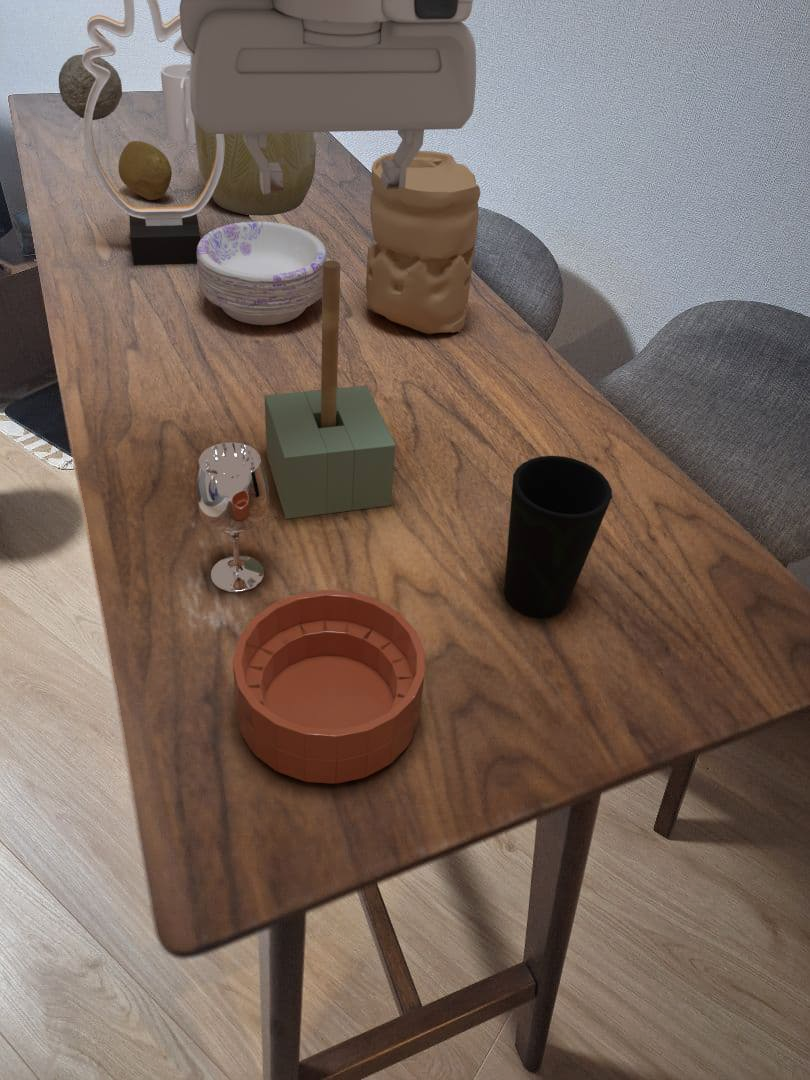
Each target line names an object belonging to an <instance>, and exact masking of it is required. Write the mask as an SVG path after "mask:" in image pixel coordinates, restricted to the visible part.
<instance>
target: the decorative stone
mask: <svg viewBox="0 0 810 1080" xmlns="http://www.w3.org/2000/svg"><path fill="white" fill-rule="evenodd" d="M82 57H83V54H74V55H72V56H70V57H69V58H67V60H66V61H65V62H64V63H63V65H62V67H61V68H60V70H59V73H58V89H59V93H60V96H61V99H62V102H63V103H64V104H65V105H66V106H67V108H68V109H69V110H70V111H72V112H74V114H75V115H76V116H77V117H79V118H81V119H84V113H85V108H86V103H87V100H88V96H89V93H90V90H91V88H92V86H93V83H94V81H95V80H96V79H95V77H94V76H93V75H92V74H90V73H89V72H88V71H87V70H86V69H85V67H84V66H83V64H82ZM92 61H93V62H94V63H96V64H98V65H100V66H102V67H104V68H107V69H108V70H109V71H110V78H109V79H108V81H107V82H106V84H105V86H104V87H103V89H102V90H101V92H100V95H99V97H98V100H97V102H96V105H95V109H94V113H93V119H92V121H97V120H100V119H105V118H106V117H109V116H110V115H111V114H112V113H113V112H114V111H115V110H116V109H117V107H118V106H119V104H120V101H121V99H122V98H123V85H122V78H121V76H120V74H119V73H118V70H117V69H116V68H114V66H113V65H111V63H110V62H109V61H107V60H105V58H103V57H97V58H94V59H92Z"/></svg>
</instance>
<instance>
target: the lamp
mask: <svg viewBox="0 0 810 1080" xmlns="http://www.w3.org/2000/svg"><path fill="white" fill-rule="evenodd" d="M146 3H147V5H148V7H149V11H150V15H151V21H152V25H153V29H154V34H155V38H156V40H157V42H158V43H163V42H165V41H167V40H168V39H169V38H171V37H172V36H173V35H174V34H176V33H177V32H179V31H181V23H180V13H179V14H177V15H176V16H175V17H173V18H172V19H171V20H169V21H168V22H166V23H164V22H163V17H162V14H161V13H162V12H161V8H160V5H159V2H158V0H146ZM123 8H124V21H123V22H120V21H118V20H115V19H113V18H110V17H108V16H106V15H103V14H96V15H94V16H91V17H90V18H89V19H88V20H87V24H86V30H87V31H86V32H87V35H88V37H89V39H90V40H91V41H92V42H93V43H94V44H95V45H96V46H95V45H94V46H91V47H87V48H86V50H84V52H83V54H82V55H83V57H82V64H83V66H84V67H85V69H86V70H87V71H88V72H89V73H90V74H92V75H93V76H94V77H95V79H96V80H95V81H94V83H93V86H92V88H91V90H90V93H89V96H88V100H87V103H86V108H85V113H84V118H83V139H84V140H83V141H84V148H85V152H86V155H87V159H88V162H89V165H90V168H91V170H92V173H93V174H94V176H95V178H96V180H97V181H98V183H99V185H100V187H101V188H102V189H103V191H104V192H105V193H106V194H107V196H108V198H110V200H111V201H112V203H114V205H115V206H116V207H117V208H118V209H120V210H121V211H122V212H123V213H125V214H126V215H128V217H129V240H130V241H129V242H130V247H131V256H132V262H133V263H132V264H133V266H147V265H148V266H149V265H153V266H154V265H179V264H182V265H183V264H197V246H198V244H199V242H200V240H201V239H202V238H201V232H200V231H201V230H200V225H199V219H198V214H199V213H200V212H201V211H202V210H203V209H204V208H205V207H206V206H207V204H208V203H209V202H210V201H211V198H212V197H211V196H212V194H213V193H214V191H215V189H216V186H217V184H218V181H219V178H220V175H221V172H222V168H223V162H224V152H225V142H224V134H216V155H215V162H214V166H213V169H212V172H211V175H210V178H209V180H208V182H207V184H206V186H205V185H204V188H203V190H202V191H201V193H200V195H199V196H198V198H197V199H196V200H195V201H194V202H193V203H192V204H190V205H184V206H147V207H145V206H142V207H141V206H140V207H139V206H134V205H132V204H131V203H129V201H127V200H125V198H124V197H123V196H122V195H121V194H120V193H119V192H118V190H117V189H116V188H115V187H114V185H113V184H112V182H111V180H109V178H108V176H107V174H106V173H105V171H104V169H103V167H102V165H101V163H100V161H99V158H98V155H97V154H98V153H97V151H96V147H95V143H94V135H93V120H92V119H93V113H94V109H95V105H96V102H97V100H98V97H99V95H100V92H101V90H102V89H103V87H104V86H105V84H106V82H107V81H108V79H109V78H110V71H109V70H108V69H107V68H104V67H102V66H100V65H98V64H96V63H94V62H93V61H92V59H94V58H97V57H101V58H105V57H106V58H107V57H112V56H114V55H115V54H116V47H115V45H114V44H113V43H112V42H111V41H110V40H108V39H107V38H106V37H105V36H104V34H102V33H101V32H100V31H99V30H98V29H97V28H100V29H102V30H105V31H107V32H109V33H111V34H113V35H116V36H118V37H120V38H128V37H131V36H132V34H133V33H134V29H135V1H134V0H123ZM173 51H174V52H175V53H178V54H182V55H184V56H188V57H191V51H190V50H189V49H188V47H187V46H186V44H185V43H184V40H183V38H182V34H181V35H180V36H179V37H178V38H177V40H175V42H174V44H173ZM186 74H187V76H188V78H189V79H190V68H187V69H186Z"/></svg>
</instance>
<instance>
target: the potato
mask: <svg viewBox="0 0 810 1080" xmlns="http://www.w3.org/2000/svg"><path fill="white" fill-rule="evenodd" d="M117 170H118V173H119V174H118V175H119V178H120V180H121V182H122V183H123V184H124V185H125V186H126V187H127V188H128V189H130V190H131V191H132V192H133V193H135V194H137V195H138V196H140V197H142V199H143V198H144V199H145V200H147V201H156V200H158V199H160V198H161V197H163V196H165V194H166V193H167V192H168V190H169V188H170V185H171V180H172V175H173V173H172V167H171V164H170V161H169V160H168V158H167V156H166V155H165V154H164V153H163V152H162V151H161V150H160V149H159V148H157V147H156V146H154V145H152V144H150V143H147V142H145V141H140V140H132V141H129V142H128V143H127V144H126V145H125V146H124V148H123V150H122V152H121V154H120V156H119V160H118V169H117Z"/></svg>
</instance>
